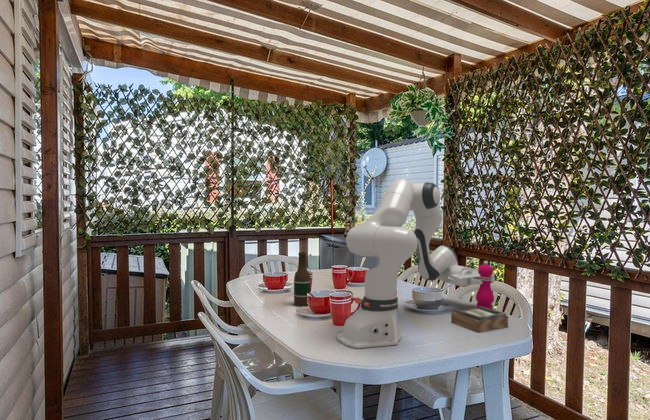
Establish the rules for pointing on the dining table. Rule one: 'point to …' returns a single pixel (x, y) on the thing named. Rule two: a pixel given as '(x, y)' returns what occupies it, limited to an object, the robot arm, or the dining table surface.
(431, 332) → the dining table surface
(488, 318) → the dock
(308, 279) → the beer bottle
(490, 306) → the pepper mill
